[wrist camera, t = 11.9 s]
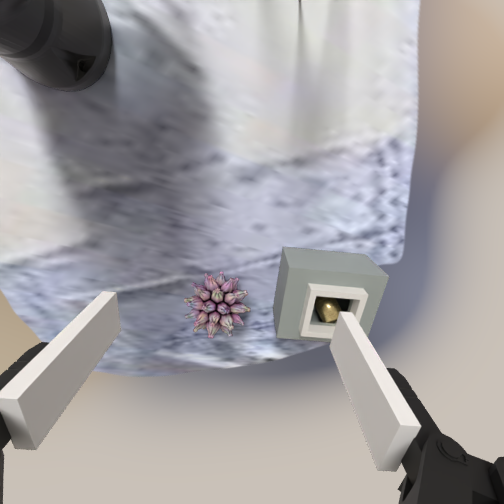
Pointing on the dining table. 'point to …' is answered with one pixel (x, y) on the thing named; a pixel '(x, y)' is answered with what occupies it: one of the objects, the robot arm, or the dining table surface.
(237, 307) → the flower
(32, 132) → the dining table surface
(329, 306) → the brass slug
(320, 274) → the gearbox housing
